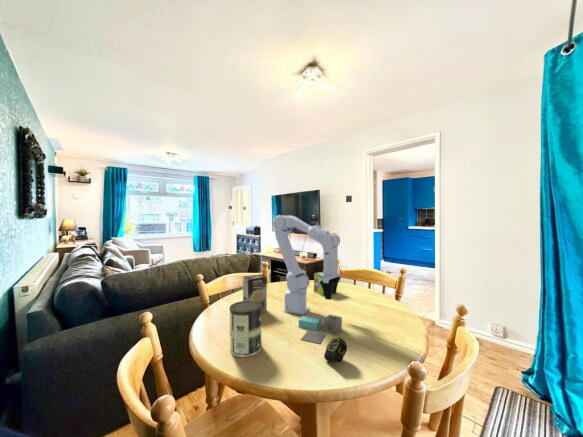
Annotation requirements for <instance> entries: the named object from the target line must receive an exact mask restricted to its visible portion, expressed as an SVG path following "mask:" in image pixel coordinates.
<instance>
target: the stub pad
mask: <svg viewBox="0 0 583 437" xmlns="http://www.w3.org/2000/svg"><path fill="white" fill-rule="evenodd" d="M326 336H327V334H326V333H322V332H321V333H320V332H318V331H317V332H316V331H313V330H307V331H306V332H305V334H304V335H303V336H302V337H301V338H300V340H301V341H304V342H308V343H312V344H317V345H321V343H322V342H323V340H324V339H325V338H326Z"/></svg>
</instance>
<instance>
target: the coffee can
mask: <svg viewBox="0 0 583 437" xmlns="http://www.w3.org/2000/svg"><path fill="white" fill-rule="evenodd" d="M228 308H229V324H230V325H229V329H230V330H229V331H230V332H229V336H230V338H229V339H230V342H229V344H230V345H229V346H230V347H229V348H230V349H229V351H230V353H231V355H232V356H234V357H237V358H249V357H252V356H255V355H257V354H258V353H260V352H261V351H262V345H263V344H262V312H261V303H259V302H256V301H243V300H241V301H236V302H234V303H232V304H230V306H229V307H228Z"/></svg>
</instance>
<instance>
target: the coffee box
mask: <svg viewBox="0 0 583 437" xmlns="http://www.w3.org/2000/svg"><path fill="white" fill-rule="evenodd" d="M242 279H243V282H242V286H243V287H242V297H243V298H242V301H256V302H259V303H261V313H264V312H267V305H268V304H267V303H268V300H267V298H268V297H267V296H268V295H267V294H268V293H267V290H268V287H267V285H268V283H267V282H268V280H267V279H268V277H267V276H266V275H263V274H254V275H253V274H252V275H245V276H242Z"/></svg>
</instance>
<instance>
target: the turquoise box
mask: <svg viewBox="0 0 583 437" xmlns="http://www.w3.org/2000/svg"><path fill="white" fill-rule="evenodd" d="M322 321H323V319H322V318H317V317H314V316H313V317H312V316H306V315H302V316H301V317H300V318H299V319H298V328H304V329H307V330H308V329H309V330H312V331H313V330H314V331H317V332H318V331H319V330H320V329H321V328H322V326H323V322H322Z"/></svg>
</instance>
